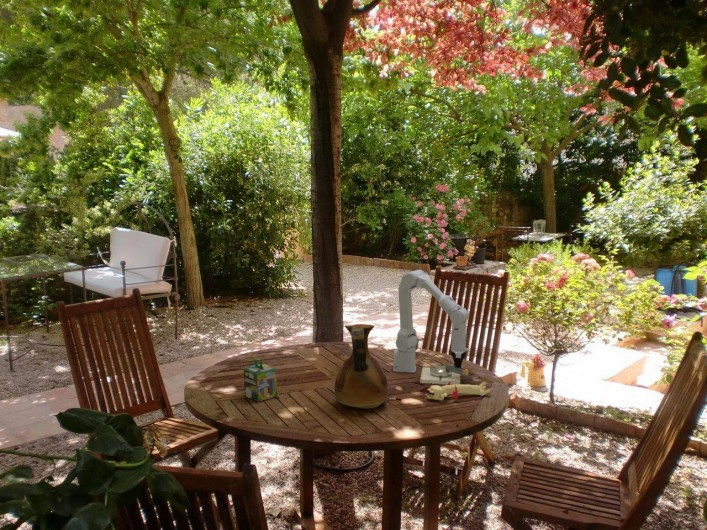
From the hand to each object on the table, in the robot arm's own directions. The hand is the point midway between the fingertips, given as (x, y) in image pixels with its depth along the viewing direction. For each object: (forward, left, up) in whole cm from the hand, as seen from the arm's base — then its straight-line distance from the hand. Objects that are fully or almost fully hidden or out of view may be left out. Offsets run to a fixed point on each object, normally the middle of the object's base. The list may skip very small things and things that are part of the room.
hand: (457, 369), depth 249 cm
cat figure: (0, -19, -5) cm, 20 cm away
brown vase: (-35, -34, -5) cm, 49 cm away
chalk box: (-74, -33, -5) cm, 81 cm away
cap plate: (-7, +2, -5) cm, 9 cm away
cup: (-22, +34, -5) cm, 41 cm away
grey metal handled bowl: (-3, 0, -3) cm, 4 cm away
